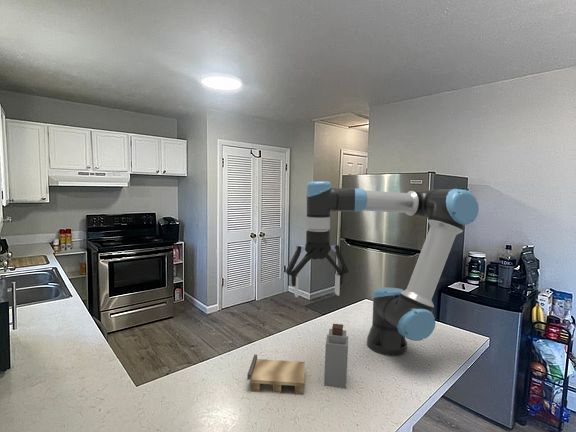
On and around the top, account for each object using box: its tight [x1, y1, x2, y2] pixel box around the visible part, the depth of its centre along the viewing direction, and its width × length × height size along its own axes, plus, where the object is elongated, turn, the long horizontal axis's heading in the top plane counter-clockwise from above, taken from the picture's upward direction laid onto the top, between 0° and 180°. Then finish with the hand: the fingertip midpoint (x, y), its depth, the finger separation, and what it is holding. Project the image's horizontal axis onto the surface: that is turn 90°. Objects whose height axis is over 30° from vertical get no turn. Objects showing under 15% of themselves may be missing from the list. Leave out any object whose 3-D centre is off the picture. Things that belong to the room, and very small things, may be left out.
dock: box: [247, 354, 306, 395], centre depth 102 cm, size 17×12×5 cm
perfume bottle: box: [323, 323, 349, 390], centre depth 102 cm, size 7×7×18 cm
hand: (316, 295), depth 105 cm, fingers open, 13 cm apart
